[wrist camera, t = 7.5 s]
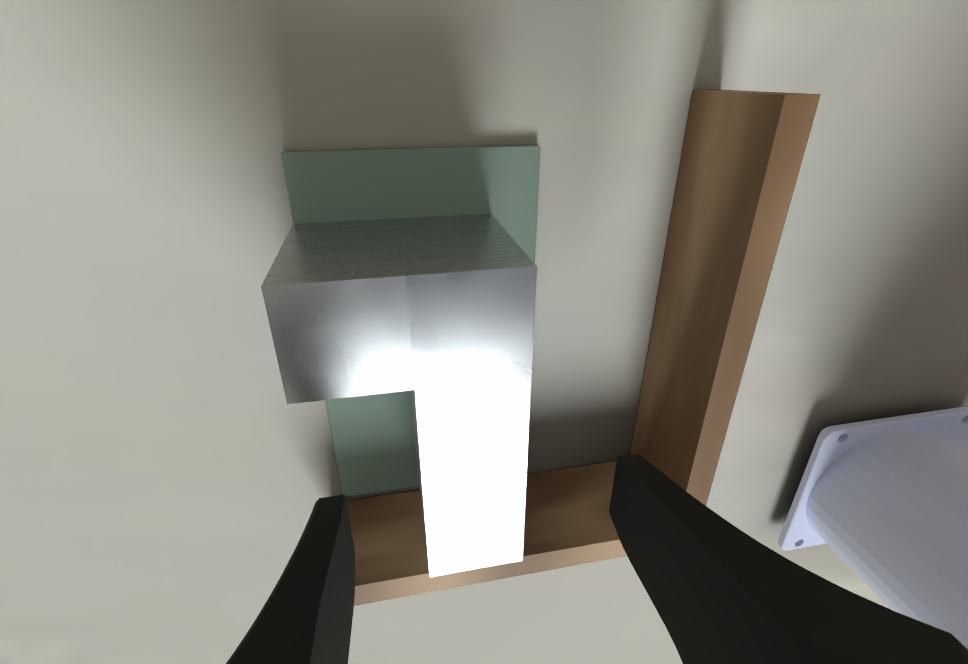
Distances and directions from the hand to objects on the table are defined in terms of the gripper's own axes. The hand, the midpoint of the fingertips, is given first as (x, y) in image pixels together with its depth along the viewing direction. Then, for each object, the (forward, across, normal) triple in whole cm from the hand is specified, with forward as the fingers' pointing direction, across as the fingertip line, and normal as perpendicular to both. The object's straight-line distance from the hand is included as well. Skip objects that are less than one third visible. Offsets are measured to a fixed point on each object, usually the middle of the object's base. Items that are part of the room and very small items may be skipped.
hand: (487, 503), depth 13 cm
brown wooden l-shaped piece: (+6, -2, -2) cm, 7 cm away
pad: (+6, 0, -2) cm, 7 cm away
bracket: (+6, 0, -1) cm, 6 cm away
